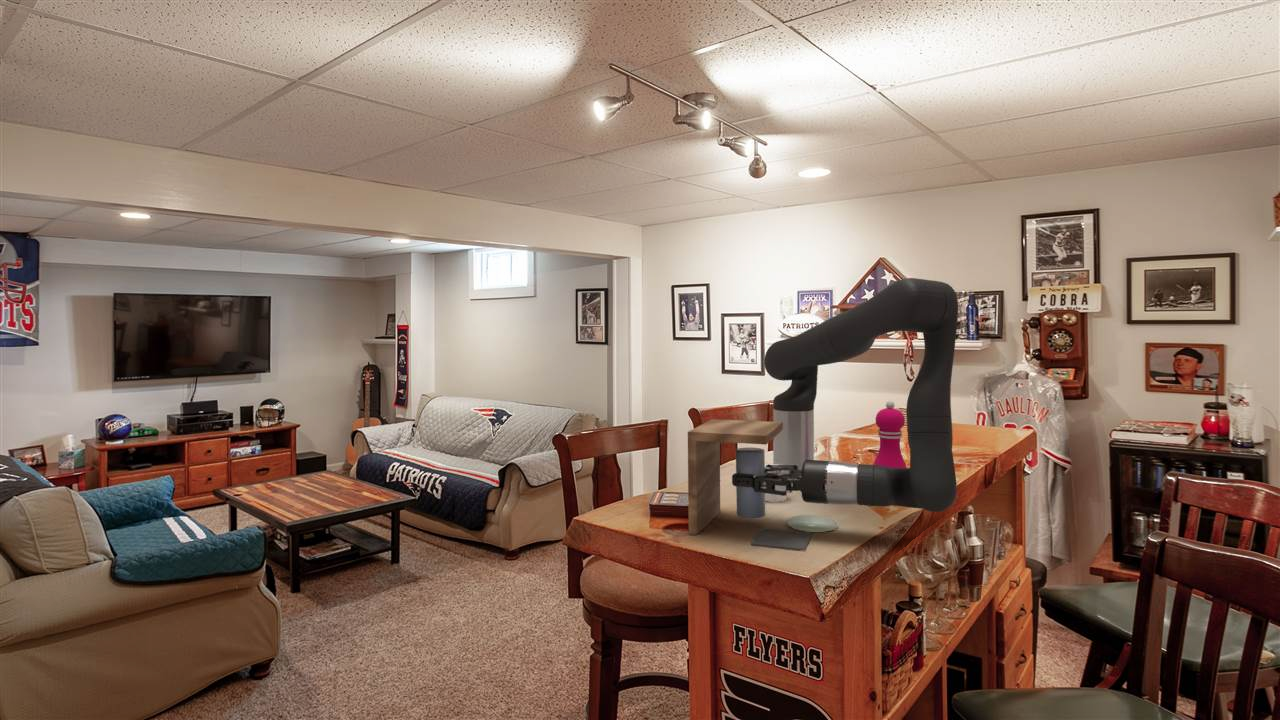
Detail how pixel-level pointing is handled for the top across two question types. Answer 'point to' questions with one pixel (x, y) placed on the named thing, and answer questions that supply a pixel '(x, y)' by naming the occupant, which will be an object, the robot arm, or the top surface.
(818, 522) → the coaster
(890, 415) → the pepper mill
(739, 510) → the blue pillar candle
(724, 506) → the top surface
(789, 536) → the drip mat
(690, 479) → the shelf
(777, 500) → the white cup
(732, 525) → the top surface
